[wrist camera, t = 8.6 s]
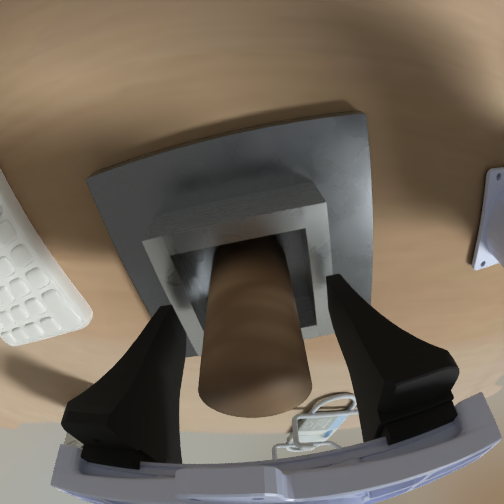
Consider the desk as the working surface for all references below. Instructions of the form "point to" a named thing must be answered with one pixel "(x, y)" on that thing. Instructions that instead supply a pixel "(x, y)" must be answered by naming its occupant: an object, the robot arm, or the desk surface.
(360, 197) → the docking plate
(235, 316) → the wooden cylinder
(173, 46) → the desk surface
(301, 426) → the wall mount rack
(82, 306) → the calculator
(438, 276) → the desk surface
